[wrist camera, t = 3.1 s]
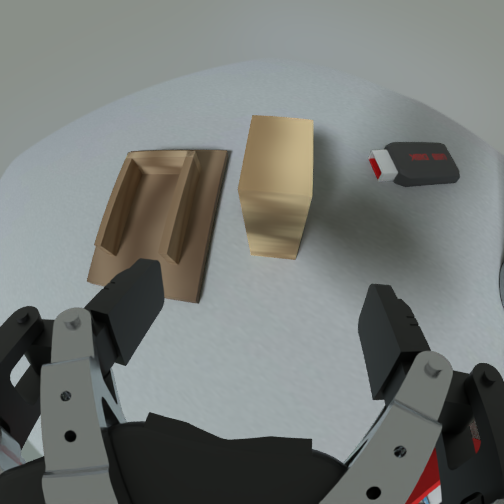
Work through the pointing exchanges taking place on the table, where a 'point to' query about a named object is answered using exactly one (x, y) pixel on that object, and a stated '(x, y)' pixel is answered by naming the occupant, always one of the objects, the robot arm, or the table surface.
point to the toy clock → (431, 482)
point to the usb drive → (414, 164)
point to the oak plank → (276, 184)
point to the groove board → (161, 218)
